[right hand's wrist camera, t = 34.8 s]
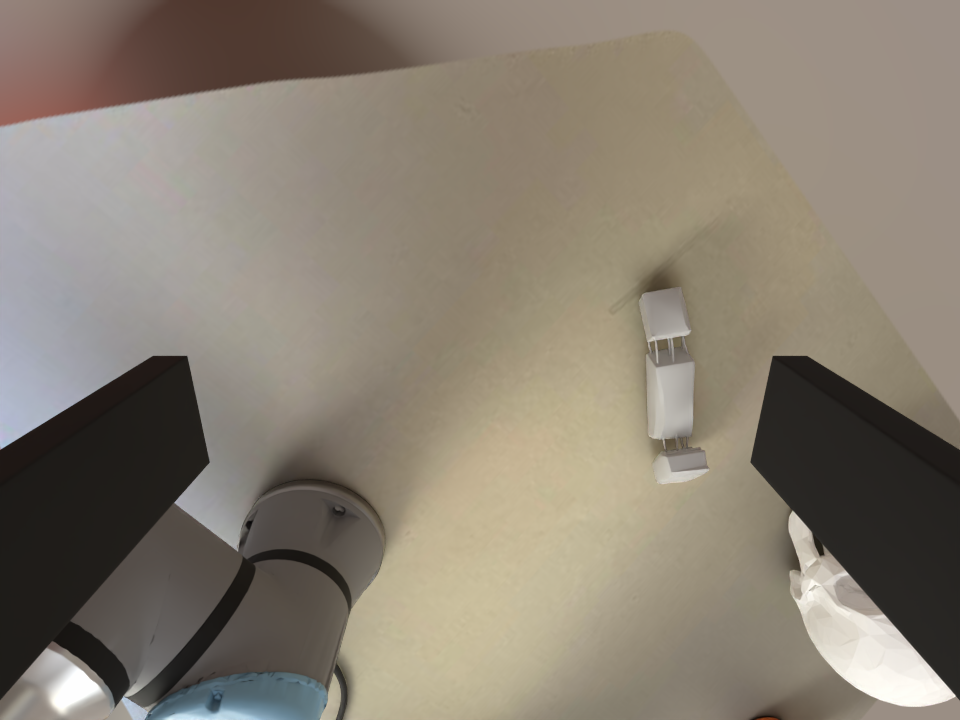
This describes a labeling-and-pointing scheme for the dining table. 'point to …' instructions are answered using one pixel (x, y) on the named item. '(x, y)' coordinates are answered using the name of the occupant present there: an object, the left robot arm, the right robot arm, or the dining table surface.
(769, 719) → the cup with straw
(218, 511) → the dining table surface
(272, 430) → the dining table surface
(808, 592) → the skull
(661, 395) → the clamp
